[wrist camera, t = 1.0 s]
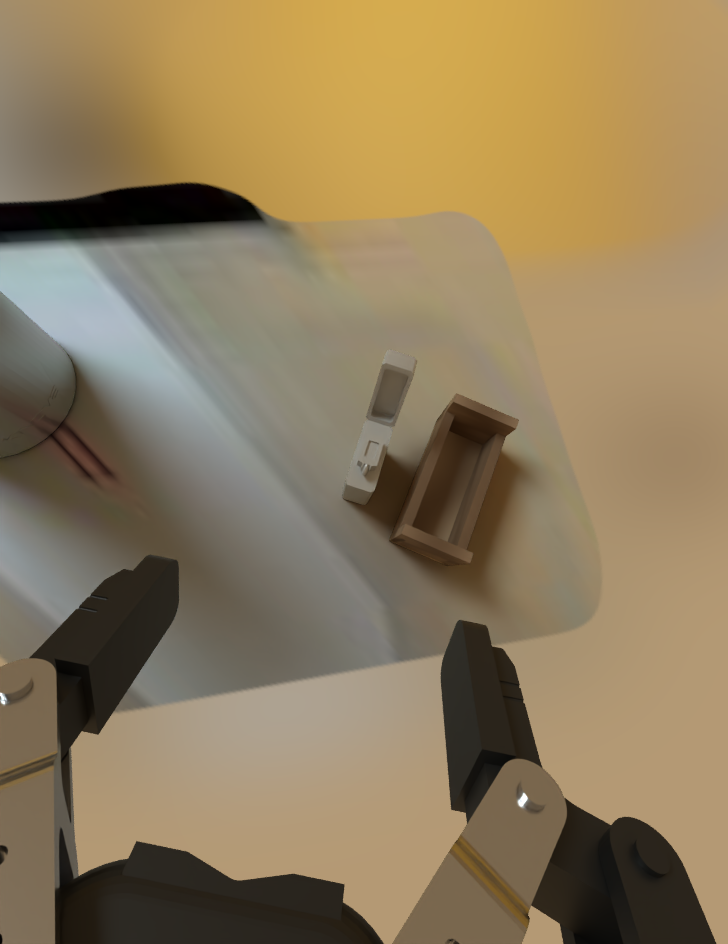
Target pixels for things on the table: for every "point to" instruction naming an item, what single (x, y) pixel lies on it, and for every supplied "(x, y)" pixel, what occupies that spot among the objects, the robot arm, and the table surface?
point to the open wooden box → (452, 481)
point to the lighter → (379, 426)
